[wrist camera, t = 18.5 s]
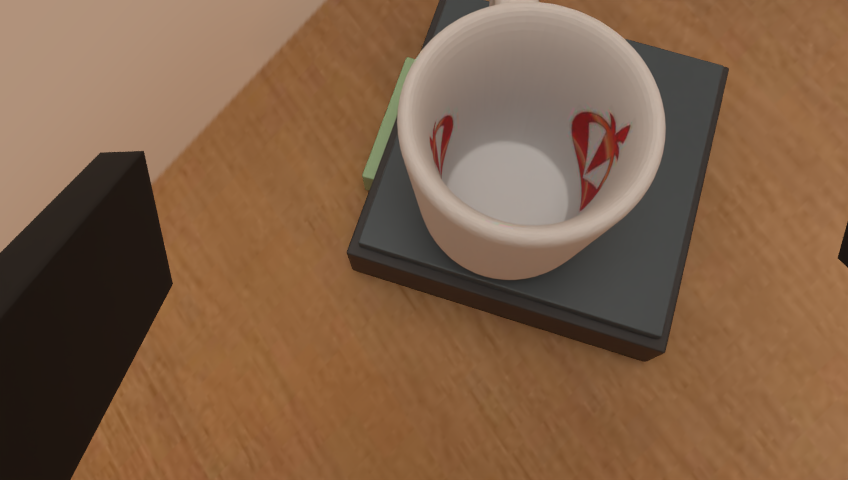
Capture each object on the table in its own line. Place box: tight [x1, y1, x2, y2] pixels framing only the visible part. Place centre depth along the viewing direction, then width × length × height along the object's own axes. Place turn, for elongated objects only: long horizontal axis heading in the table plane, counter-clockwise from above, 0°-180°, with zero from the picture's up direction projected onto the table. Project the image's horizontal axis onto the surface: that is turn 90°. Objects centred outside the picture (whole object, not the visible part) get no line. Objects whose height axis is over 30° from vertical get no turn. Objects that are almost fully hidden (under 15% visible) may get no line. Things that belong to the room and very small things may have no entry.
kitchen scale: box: [347, 0, 729, 362], centre depth 31 cm, size 14×13×3 cm
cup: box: [397, 0, 666, 280], centre depth 26 cm, size 11×8×8 cm
